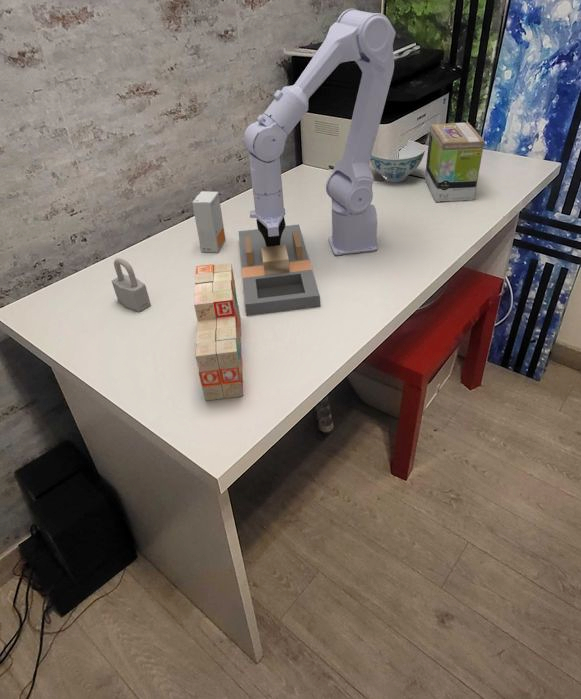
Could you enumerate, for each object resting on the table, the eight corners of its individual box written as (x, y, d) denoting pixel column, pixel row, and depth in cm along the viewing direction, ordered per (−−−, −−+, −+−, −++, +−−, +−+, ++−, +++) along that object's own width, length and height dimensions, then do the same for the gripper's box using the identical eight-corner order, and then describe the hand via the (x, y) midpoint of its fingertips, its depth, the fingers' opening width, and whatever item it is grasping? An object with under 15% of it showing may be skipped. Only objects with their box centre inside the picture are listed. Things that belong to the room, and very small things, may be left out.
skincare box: (218, 253, 118) (210, 202, 111) (201, 252, 119) (191, 202, 112) (226, 240, 123) (218, 191, 115) (209, 239, 124) (200, 190, 116)
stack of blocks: (244, 397, 82) (234, 335, 75) (204, 402, 82) (189, 340, 74) (240, 317, 99) (231, 260, 91) (207, 321, 99) (195, 264, 91)
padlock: (115, 302, 106) (100, 258, 99) (131, 293, 108) (118, 249, 102) (137, 314, 102) (123, 269, 96) (153, 304, 104) (141, 259, 98)
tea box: (475, 201, 130) (485, 139, 121) (434, 203, 131) (441, 142, 122) (461, 177, 142) (469, 120, 133) (423, 179, 143) (429, 122, 133)
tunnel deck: (299, 234, 123) (298, 212, 119) (320, 306, 100) (319, 281, 96) (239, 241, 122) (236, 219, 119) (246, 315, 99) (243, 290, 96)
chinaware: (410, 191, 137) (412, 162, 132) (357, 183, 144) (358, 154, 139) (430, 171, 147) (433, 143, 142) (380, 164, 153) (381, 136, 148)
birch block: (286, 257, 110) (285, 244, 108) (289, 272, 105) (288, 259, 103) (262, 260, 110) (261, 247, 108) (264, 275, 105) (263, 262, 103)
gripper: (245, 177, 107) (252, 238, 115) (248, 207, 96) (256, 272, 104) (279, 173, 107) (284, 234, 116) (287, 203, 96) (292, 267, 105)
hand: (273, 252), depth 110 cm, fingers closed
